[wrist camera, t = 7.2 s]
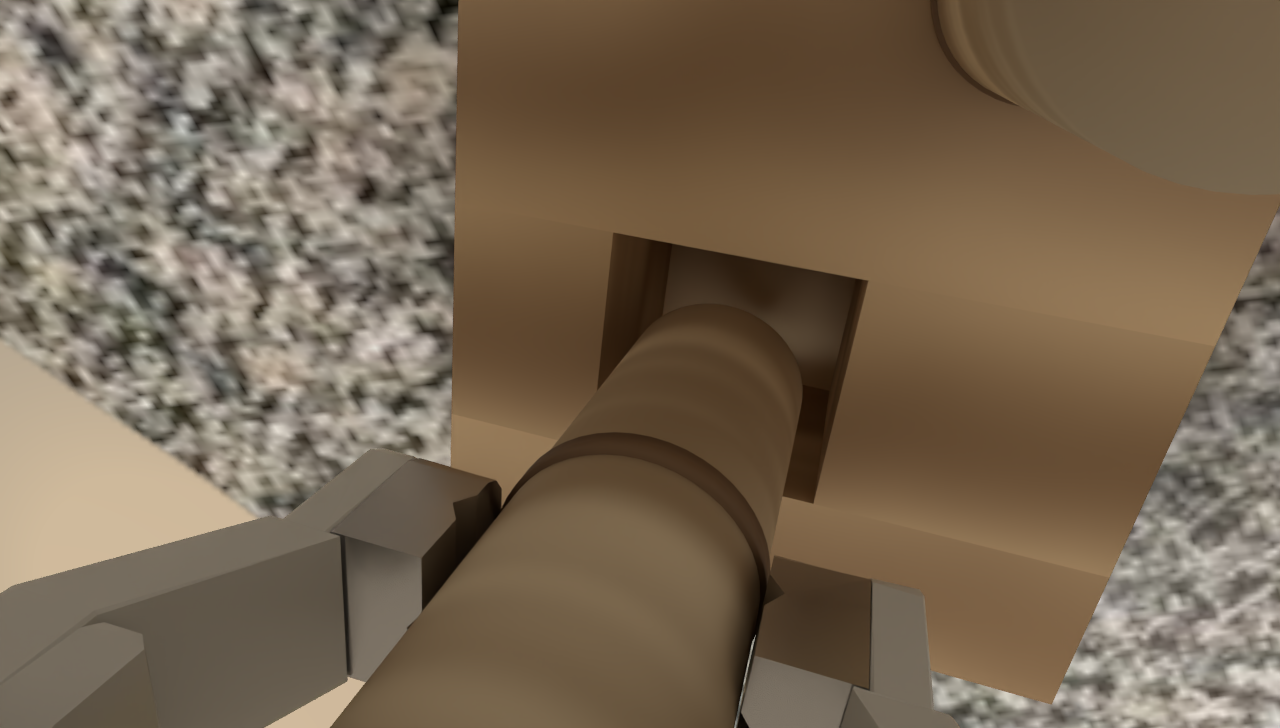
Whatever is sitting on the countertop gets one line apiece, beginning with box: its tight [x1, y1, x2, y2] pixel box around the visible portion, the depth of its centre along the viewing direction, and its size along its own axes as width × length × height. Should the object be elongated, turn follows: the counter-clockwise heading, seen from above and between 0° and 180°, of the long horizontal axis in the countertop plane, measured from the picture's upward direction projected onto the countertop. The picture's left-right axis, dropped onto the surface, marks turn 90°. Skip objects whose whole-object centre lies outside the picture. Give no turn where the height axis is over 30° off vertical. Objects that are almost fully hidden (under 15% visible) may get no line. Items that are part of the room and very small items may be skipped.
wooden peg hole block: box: [451, 0, 1280, 704], centre depth 13 cm, size 14×12×14 cm
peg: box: [330, 303, 803, 728], centre depth 8 cm, size 3×3×12 cm
